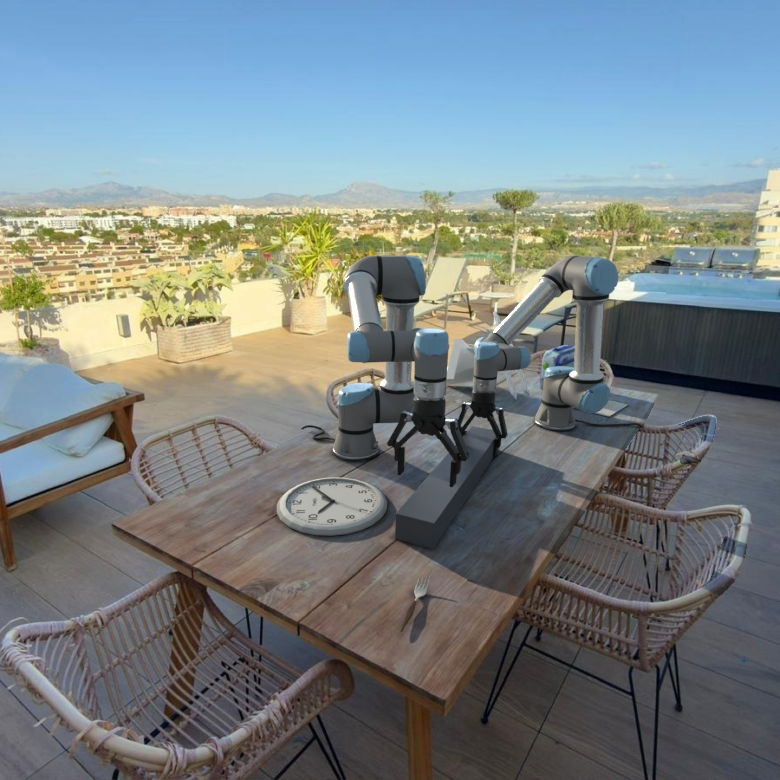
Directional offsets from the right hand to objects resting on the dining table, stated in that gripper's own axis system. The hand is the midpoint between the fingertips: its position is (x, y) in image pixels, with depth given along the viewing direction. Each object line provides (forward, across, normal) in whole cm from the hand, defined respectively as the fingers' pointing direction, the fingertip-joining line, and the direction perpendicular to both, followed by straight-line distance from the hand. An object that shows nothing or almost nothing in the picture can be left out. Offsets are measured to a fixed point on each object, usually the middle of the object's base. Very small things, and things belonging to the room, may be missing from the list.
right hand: (479, 452), depth 176 cm
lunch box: (+1, +14, +90) cm, 92 cm away
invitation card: (+1, +34, +73) cm, 80 cm away
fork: (+1, +8, -79) cm, 79 cm away
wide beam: (+1, 0, -26) cm, 26 cm away
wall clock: (+1, -27, -51) cm, 58 cm away
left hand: (-14, 0, -52) cm, 53 cm away
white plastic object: (+1, -19, +68) cm, 71 cm away
